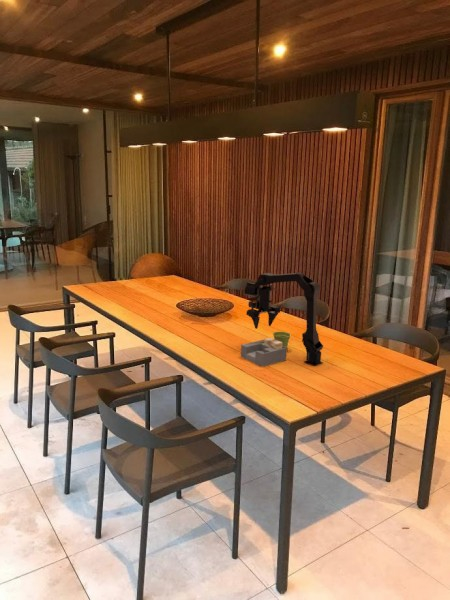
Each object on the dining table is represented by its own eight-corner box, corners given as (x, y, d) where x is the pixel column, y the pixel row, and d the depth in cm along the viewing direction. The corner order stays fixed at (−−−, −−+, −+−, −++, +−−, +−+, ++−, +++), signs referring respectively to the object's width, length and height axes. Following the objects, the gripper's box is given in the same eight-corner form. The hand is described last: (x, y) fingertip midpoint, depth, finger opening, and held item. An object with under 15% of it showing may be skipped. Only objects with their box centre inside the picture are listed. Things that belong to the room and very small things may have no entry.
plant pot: (292, 349, 256) (293, 333, 254) (285, 354, 248) (286, 338, 246) (276, 345, 260) (277, 330, 258) (269, 350, 252) (270, 334, 250)
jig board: (286, 360, 239) (286, 347, 237) (261, 366, 229) (262, 353, 228) (264, 351, 251) (265, 339, 249) (240, 357, 241) (241, 344, 240)
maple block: (282, 349, 238) (282, 342, 237) (276, 350, 235) (276, 343, 235) (270, 344, 245) (270, 337, 244) (264, 345, 242) (264, 338, 242)
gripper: (267, 292, 256) (265, 321, 260) (240, 296, 245) (239, 326, 249) (281, 296, 248) (280, 325, 251) (254, 301, 237) (253, 331, 240)
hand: (262, 327), depth 248 cm, fingers open, 9 cm apart
